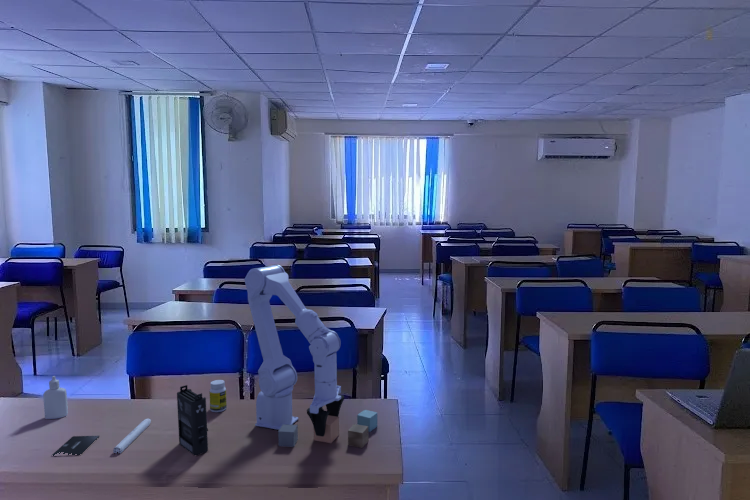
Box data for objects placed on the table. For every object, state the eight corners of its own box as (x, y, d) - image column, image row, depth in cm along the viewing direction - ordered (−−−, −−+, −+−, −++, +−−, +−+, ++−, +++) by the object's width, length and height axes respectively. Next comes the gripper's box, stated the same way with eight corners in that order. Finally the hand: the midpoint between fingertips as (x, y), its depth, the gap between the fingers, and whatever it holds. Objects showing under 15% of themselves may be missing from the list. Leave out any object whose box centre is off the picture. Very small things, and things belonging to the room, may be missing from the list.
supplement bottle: (221, 413, 151) (220, 385, 150) (207, 412, 152) (205, 384, 151) (229, 406, 155) (228, 379, 155) (215, 405, 156) (214, 378, 155)
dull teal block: (357, 428, 141) (357, 414, 140) (365, 423, 144) (365, 409, 144) (369, 432, 139) (369, 418, 138) (377, 426, 142) (377, 412, 142)
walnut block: (348, 445, 131) (347, 430, 131) (354, 438, 135) (354, 423, 135) (362, 448, 130) (362, 433, 130) (368, 441, 134) (368, 426, 133)
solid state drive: (51, 458, 127) (51, 455, 126) (72, 438, 136) (72, 436, 136) (80, 457, 127) (80, 454, 127) (99, 437, 137) (99, 435, 137)
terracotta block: (313, 440, 134) (313, 421, 134) (322, 432, 139) (322, 414, 138) (331, 443, 133) (330, 424, 132) (339, 435, 137) (339, 416, 137)
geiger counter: (214, 450, 129) (211, 392, 127) (196, 457, 126) (194, 398, 124) (194, 437, 136) (192, 382, 134) (177, 443, 133) (175, 386, 131)
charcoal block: (278, 446, 131) (278, 431, 131) (282, 439, 135) (282, 424, 135) (294, 447, 131) (293, 432, 130) (297, 439, 135) (297, 425, 134)
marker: (146, 422, 146) (146, 414, 145) (153, 422, 146) (153, 414, 145) (113, 455, 128) (112, 445, 127) (121, 455, 128) (120, 446, 127)
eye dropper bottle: (53, 412, 152) (50, 373, 150) (71, 413, 151) (68, 374, 150) (42, 419, 147) (38, 378, 146) (59, 420, 147) (56, 379, 145)
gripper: (327, 390, 126) (328, 444, 127) (350, 371, 139) (351, 419, 141) (301, 387, 128) (303, 439, 130) (327, 368, 142) (328, 416, 143)
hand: (326, 429), depth 135 cm, fingers open, 7 cm apart
